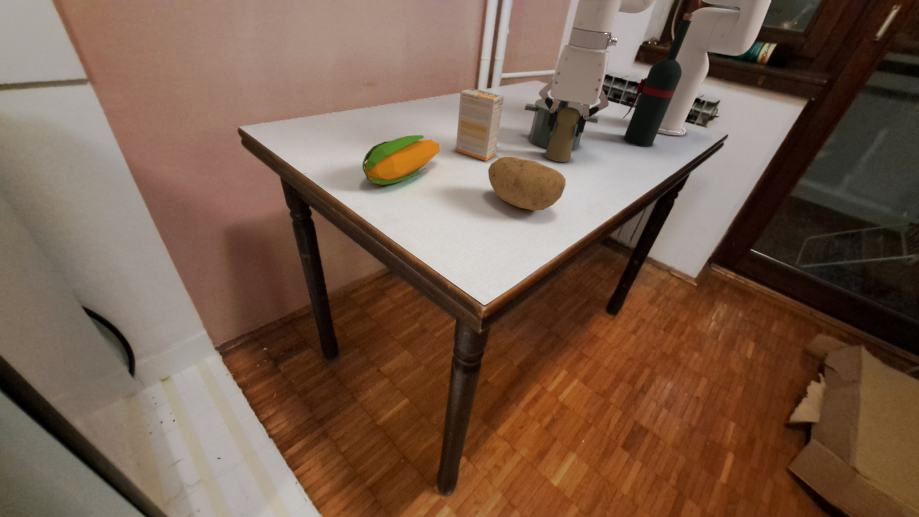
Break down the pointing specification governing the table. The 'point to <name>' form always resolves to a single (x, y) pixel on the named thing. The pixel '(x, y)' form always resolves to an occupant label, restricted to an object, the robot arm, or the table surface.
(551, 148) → the cork
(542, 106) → the pot lid
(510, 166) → the potato
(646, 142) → the wine bottle
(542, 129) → the pot
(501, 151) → the table surface
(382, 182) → the corn
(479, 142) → the supplement box
